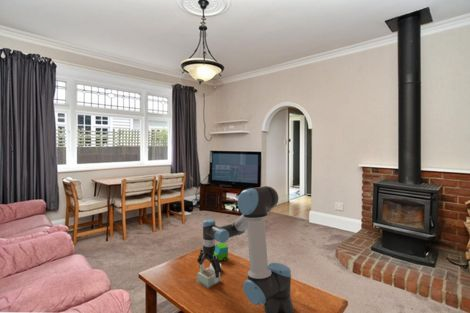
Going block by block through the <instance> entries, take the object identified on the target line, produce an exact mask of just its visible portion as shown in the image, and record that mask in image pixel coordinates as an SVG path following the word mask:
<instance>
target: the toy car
mask: <svg viewBox="0 0 470 313" xmlns="http://www.w3.org/2000/svg"><path fill="white" fill-rule="evenodd" d="M214 255H218V260H219V262H220V261H224V262H225V261H227V260H228V259H229V247H228V246H227V245H226V243H221V242H220V243H215V251H214ZM212 260H213V259H212Z"/></svg>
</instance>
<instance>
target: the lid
mask: <svg viewBox="0 0 470 313" xmlns="http://www.w3.org/2000/svg"><path fill="white" fill-rule="evenodd" d="M214 272H215V270H214V269H212V268H211V267H210V266H209V267H207V268H204V270H202V271H200V270H199V271H198V272H197V277H196V278H197V279H196V280H197V281H199V282H201V283H202V284H204V285H205V286H207V287H209V286H211V285H213V284H215V283H214ZM220 279H221V272H220V273H219V277H218V281H220ZM197 281H196V282H197ZM215 285H216V284H215ZM205 286H204V287H205ZM213 286H214V285H213Z"/></svg>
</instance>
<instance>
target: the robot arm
mask: <svg viewBox="0 0 470 313" xmlns="http://www.w3.org/2000/svg"><path fill="white" fill-rule="evenodd" d="M278 203H279V194H278V191H276V189H274V188H273V187H272V186H268V185H265V186H259V187H258V186H257V187H251V188H247V189H243V190H242V191H241V192H240V193H239V195H238V198H237V208H238V210H239V212H240V214H241V215H240V216H238V218H237V219H235V221H234V222H233V223H229V224H226V225H222V226H218V225H216V220H215V219H213V218H212V219H211V218H208V219H207V218H206V219H204V220H203V222H202V223H203V224H202V248H201V249H200V252H199V255H198V257H197V263H198V264H199V272H200V271H202V270H204V269H205V263H204V262H205V261H206V260H208V261H209V263H210V264H212V266H213V268H214V270H215V272H214V283H217V282H218V277H219V273H220V274H221V273H222V266H221V267H220V264H221V263H220V261H219V260H218V255H214V251H215V246H216V241H217V243H218V242H219V243H220V244H221V243H224V244H226V243H227V241H228V240H229V239H230V238H233V237H236V236H240V235H242V234H245V233H246V229H247V241H248V255H249V267H250V268H249V269H248V271H247V279H245V281H244V283H243V288H242V289H243V292H244V295H245V296H246V299H247V300H248V301H249V302H250V303H251V304H253V305H254V306H259V305H262V304H263V309H264V312H265V313H294V305H293V301H292V297H291V285H292V284H291V282H292V281H291V280H292V274H291V269H290V267H289V266H288V265H286V264H283V263H279V262H271V263H269V262H268V249H267V248H268V247H267V236H266V235H267V233H266V221H265V220H266V218H267V217H268V213H269V212H271V210H273V209H274V208H276V206H277V205H278ZM212 259H213V260H212ZM219 263H220V264H219ZM217 284H218V283H217Z"/></svg>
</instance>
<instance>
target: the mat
mask: <svg viewBox="0 0 470 313" xmlns="http://www.w3.org/2000/svg"><path fill="white" fill-rule="evenodd" d="M194 280H195V282H197V283H198V284H200V285H202V286H203V287H205V288H207V289H210V288H211V287H213V286H215V285H217V284H219V283H221V282H222V281H223V279H221V278H220V281H218V282H217V283H215V284H213V285H211V286H209V287H207V286H205V285H204V284H202V283H201V282H199V281H197V279H194Z"/></svg>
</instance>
